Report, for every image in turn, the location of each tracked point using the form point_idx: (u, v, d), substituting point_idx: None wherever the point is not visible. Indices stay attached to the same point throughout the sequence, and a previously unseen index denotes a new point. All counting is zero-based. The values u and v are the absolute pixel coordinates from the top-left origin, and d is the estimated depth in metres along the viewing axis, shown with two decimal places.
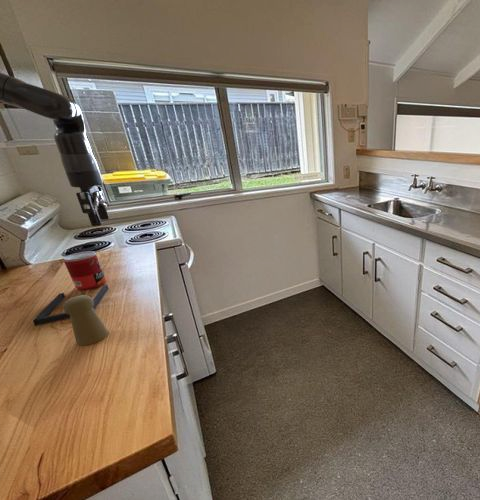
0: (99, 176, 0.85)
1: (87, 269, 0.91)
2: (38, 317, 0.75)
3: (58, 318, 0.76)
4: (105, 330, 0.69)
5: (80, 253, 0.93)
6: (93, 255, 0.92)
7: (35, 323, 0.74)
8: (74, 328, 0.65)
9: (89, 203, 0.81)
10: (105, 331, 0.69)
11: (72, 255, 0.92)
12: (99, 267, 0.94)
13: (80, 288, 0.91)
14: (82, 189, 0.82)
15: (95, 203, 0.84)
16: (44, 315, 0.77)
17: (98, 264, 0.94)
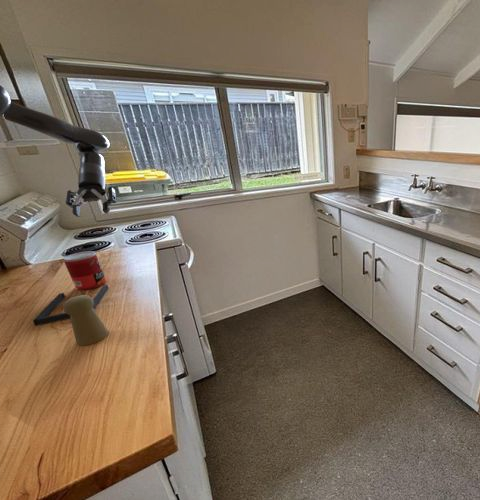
0: None
1: (87, 269, 0.91)
2: (38, 317, 0.75)
3: (58, 318, 0.76)
4: (105, 330, 0.69)
5: (80, 253, 0.93)
6: (93, 255, 0.92)
7: (35, 323, 0.74)
8: (74, 328, 0.65)
9: (115, 196, 1.08)
10: (105, 331, 0.69)
11: (72, 255, 0.92)
12: (99, 267, 0.94)
13: (80, 288, 0.91)
14: (103, 187, 1.07)
15: None
16: (44, 315, 0.77)
17: (98, 264, 0.94)
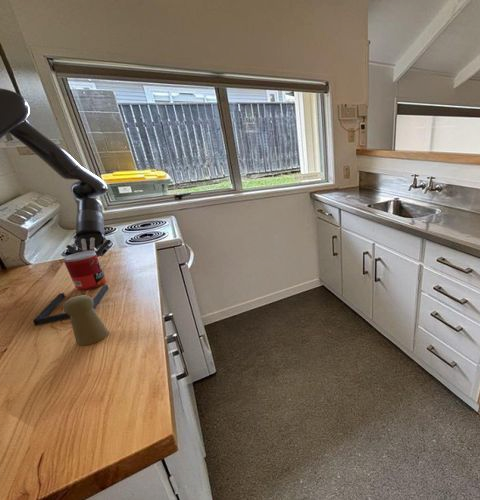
0: None
1: (87, 269, 0.91)
2: (38, 317, 0.75)
3: (58, 318, 0.76)
4: (105, 330, 0.69)
5: (80, 253, 0.93)
6: (93, 255, 0.92)
7: (35, 323, 0.74)
8: (74, 328, 0.65)
9: (107, 250, 1.02)
10: (105, 331, 0.69)
11: (72, 255, 0.92)
12: (99, 267, 0.94)
13: (80, 288, 0.91)
14: (102, 235, 1.02)
15: None
16: (44, 315, 0.77)
17: (98, 264, 0.94)
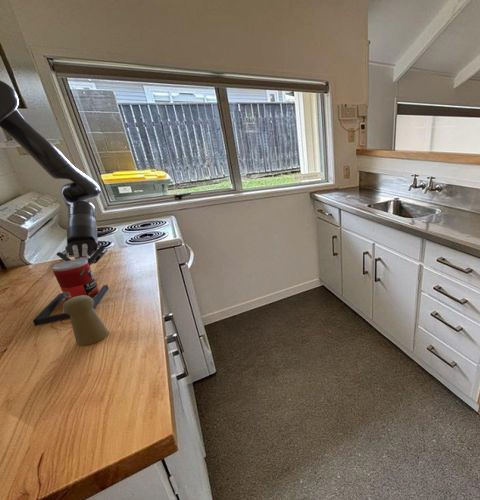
0: None
1: (76, 279, 0.84)
2: (38, 317, 0.75)
3: (58, 318, 0.76)
4: (105, 330, 0.69)
5: (71, 261, 0.87)
6: (84, 264, 0.85)
7: (35, 323, 0.74)
8: (74, 328, 0.65)
9: None
10: (105, 331, 0.69)
11: (63, 263, 0.86)
12: (90, 277, 0.87)
13: None
14: (96, 240, 0.96)
15: None
16: (44, 315, 0.77)
17: (89, 273, 0.87)
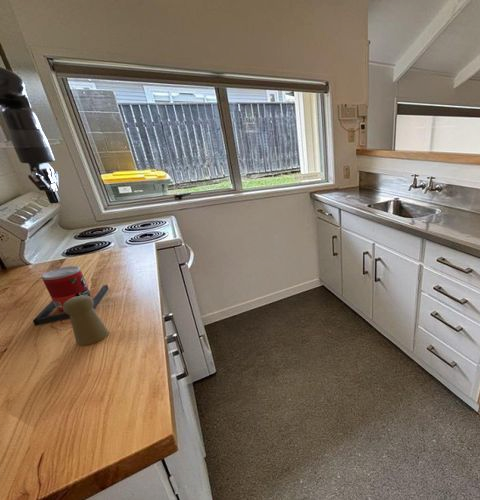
0: (49, 153, 0.87)
1: (68, 289, 0.78)
2: (38, 317, 0.75)
3: (58, 318, 0.76)
4: (105, 330, 0.69)
5: (63, 269, 0.82)
6: (76, 272, 0.80)
7: (35, 323, 0.74)
8: (74, 328, 0.65)
9: (44, 184, 0.86)
10: (105, 331, 0.69)
11: (54, 271, 0.80)
12: (83, 285, 0.82)
13: (61, 309, 0.80)
14: (31, 165, 0.84)
15: (45, 179, 0.86)
16: (44, 315, 0.77)
17: (82, 282, 0.82)
